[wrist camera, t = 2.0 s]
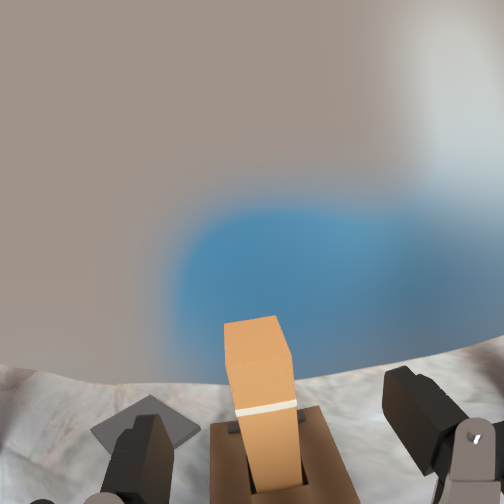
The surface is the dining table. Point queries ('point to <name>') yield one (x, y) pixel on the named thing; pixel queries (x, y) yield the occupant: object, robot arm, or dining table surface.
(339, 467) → the brown socket base
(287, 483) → the striped orange pillar
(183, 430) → the pad
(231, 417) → the dining table surface
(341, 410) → the dining table surface
